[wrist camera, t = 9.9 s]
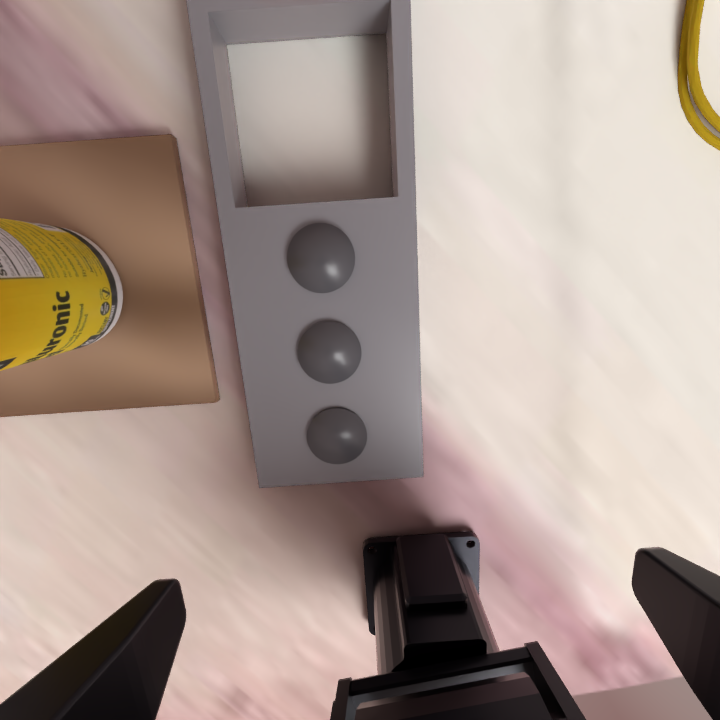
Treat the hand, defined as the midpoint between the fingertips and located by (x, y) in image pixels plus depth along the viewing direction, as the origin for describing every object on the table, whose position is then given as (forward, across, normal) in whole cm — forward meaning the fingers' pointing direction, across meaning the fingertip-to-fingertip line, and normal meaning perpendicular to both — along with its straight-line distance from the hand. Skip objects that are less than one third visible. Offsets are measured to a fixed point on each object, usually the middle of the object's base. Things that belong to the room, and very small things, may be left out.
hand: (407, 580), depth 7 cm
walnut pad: (+12, +14, -6) cm, 19 cm away
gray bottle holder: (+12, +2, -7) cm, 14 cm away
